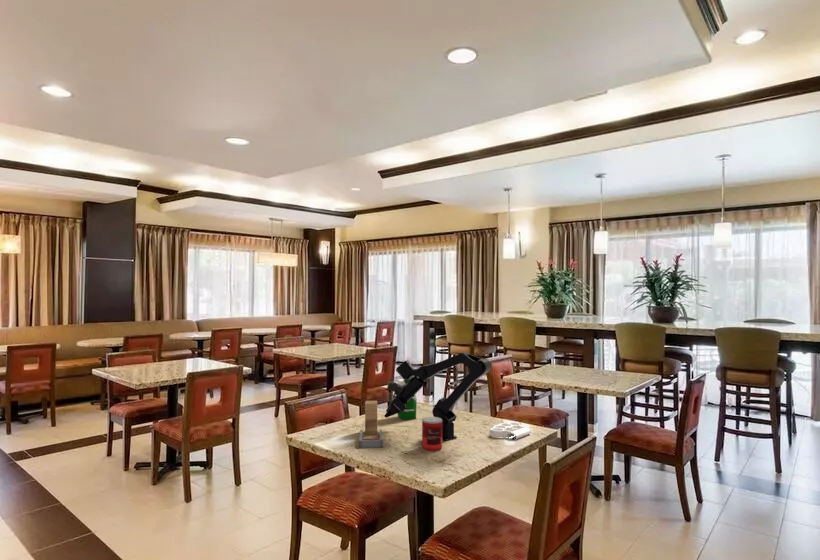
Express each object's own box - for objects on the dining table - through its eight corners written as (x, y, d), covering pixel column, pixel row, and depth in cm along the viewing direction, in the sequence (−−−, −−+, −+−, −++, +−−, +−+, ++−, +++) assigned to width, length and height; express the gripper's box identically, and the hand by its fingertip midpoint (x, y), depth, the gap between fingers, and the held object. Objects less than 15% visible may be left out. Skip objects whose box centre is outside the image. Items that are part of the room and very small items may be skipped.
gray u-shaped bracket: (382, 447, 187) (382, 440, 187) (359, 447, 186) (359, 441, 186) (381, 435, 202) (381, 429, 202) (360, 436, 201) (360, 430, 201)
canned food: (431, 443, 191) (431, 415, 192) (446, 448, 186) (446, 419, 186) (417, 447, 186) (417, 419, 186) (433, 452, 180) (433, 422, 181)
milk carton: (400, 420, 226) (400, 377, 227) (395, 416, 235) (395, 374, 235) (418, 419, 229) (418, 376, 229) (412, 414, 237) (412, 373, 238)
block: (376, 434, 204) (377, 403, 204) (364, 434, 204) (365, 403, 204) (377, 431, 209) (377, 400, 209) (365, 431, 209) (365, 400, 209)
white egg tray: (511, 443, 193) (481, 435, 204) (535, 434, 206) (506, 427, 216) (511, 434, 193) (481, 427, 204) (535, 426, 206) (506, 420, 216)
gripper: (399, 371, 216) (374, 396, 216) (397, 378, 197) (370, 405, 197) (417, 389, 215) (392, 414, 215) (416, 397, 197) (389, 425, 197)
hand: (385, 414), depth 206 cm, fingers open, 9 cm apart
